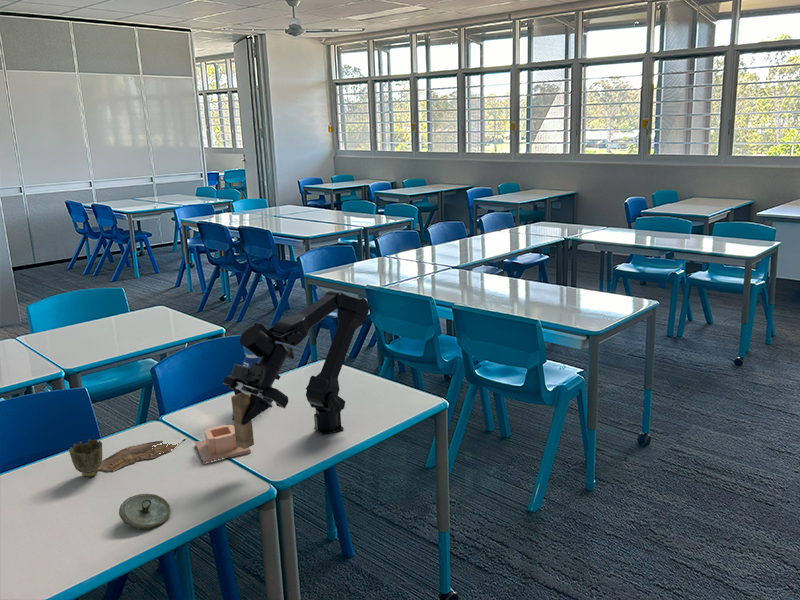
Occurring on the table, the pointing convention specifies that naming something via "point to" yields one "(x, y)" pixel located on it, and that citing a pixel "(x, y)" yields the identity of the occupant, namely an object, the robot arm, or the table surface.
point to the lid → (144, 511)
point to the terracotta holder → (219, 444)
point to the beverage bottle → (250, 360)
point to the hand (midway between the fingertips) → (238, 422)
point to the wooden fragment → (134, 455)
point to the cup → (87, 457)
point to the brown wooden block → (241, 431)
